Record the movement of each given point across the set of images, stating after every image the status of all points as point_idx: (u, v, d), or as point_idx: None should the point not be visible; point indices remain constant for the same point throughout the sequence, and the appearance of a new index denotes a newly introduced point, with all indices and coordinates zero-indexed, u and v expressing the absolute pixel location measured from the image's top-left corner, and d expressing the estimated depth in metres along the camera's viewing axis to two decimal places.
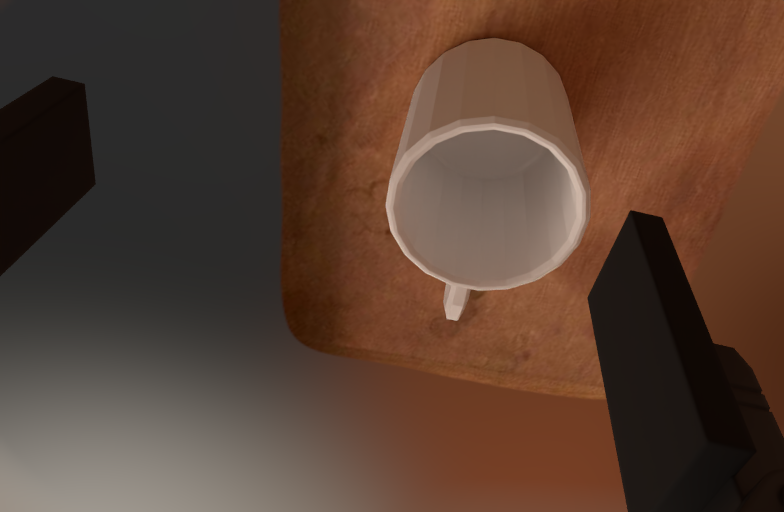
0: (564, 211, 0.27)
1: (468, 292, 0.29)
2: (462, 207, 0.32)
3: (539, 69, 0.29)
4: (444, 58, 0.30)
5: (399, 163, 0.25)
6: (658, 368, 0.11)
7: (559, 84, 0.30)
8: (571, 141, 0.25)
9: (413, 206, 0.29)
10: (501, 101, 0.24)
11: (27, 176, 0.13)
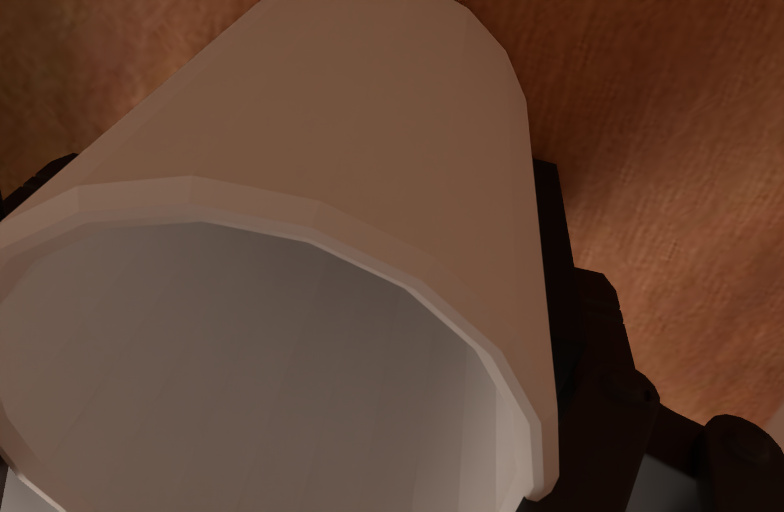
0: (497, 405, 0.10)
1: None
2: (306, 332, 0.15)
3: (446, 34, 0.12)
4: (245, 13, 0.14)
5: None
6: None
7: (499, 71, 0.13)
8: (497, 245, 0.08)
9: (138, 367, 0.12)
10: (262, 118, 0.07)
11: None
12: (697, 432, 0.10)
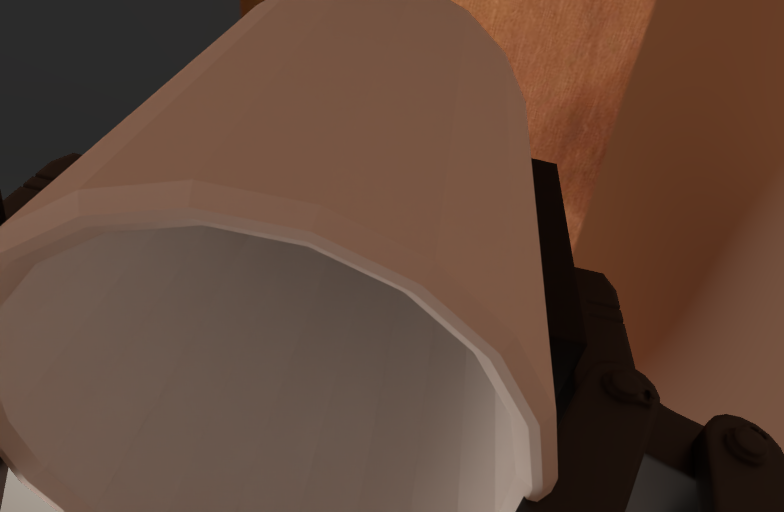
0: (496, 407, 0.10)
1: None
2: (306, 334, 0.15)
3: (445, 36, 0.12)
4: (245, 16, 0.14)
5: None
6: None
7: (499, 73, 0.13)
8: (496, 248, 0.08)
9: (138, 369, 0.12)
10: (263, 122, 0.07)
11: None
12: (697, 432, 0.10)
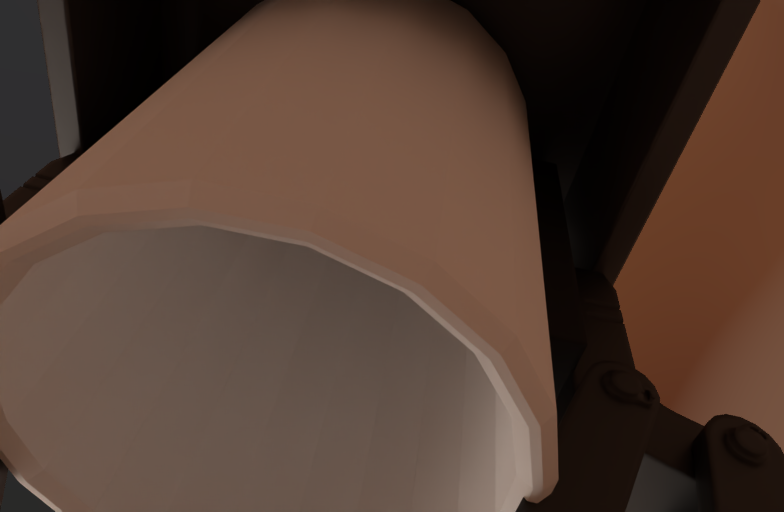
0: (497, 408, 0.10)
1: None
2: (305, 333, 0.15)
3: (446, 36, 0.12)
4: (244, 15, 0.14)
5: None
6: None
7: (499, 73, 0.13)
8: (497, 248, 0.08)
9: (138, 369, 0.12)
10: (262, 121, 0.07)
11: None
12: (697, 432, 0.10)
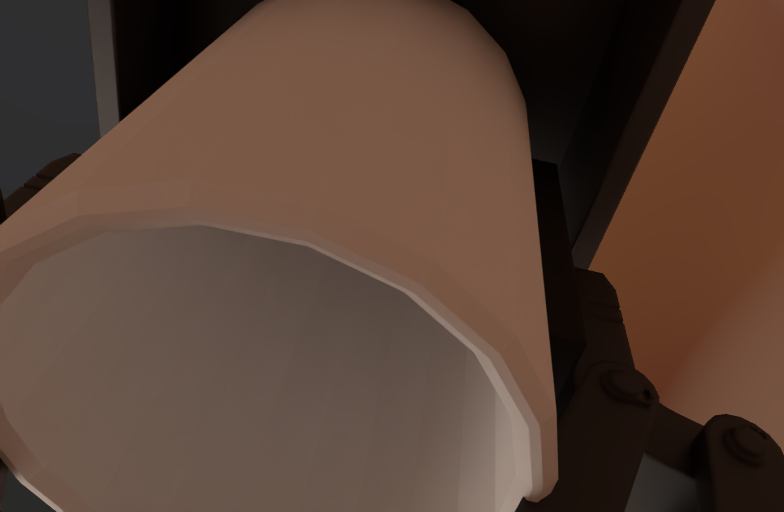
0: (496, 407, 0.10)
1: None
2: (306, 333, 0.15)
3: (445, 36, 0.12)
4: (244, 15, 0.14)
5: None
6: None
7: (499, 73, 0.13)
8: (496, 248, 0.08)
9: (138, 369, 0.12)
10: (263, 121, 0.07)
11: None
12: (696, 432, 0.10)
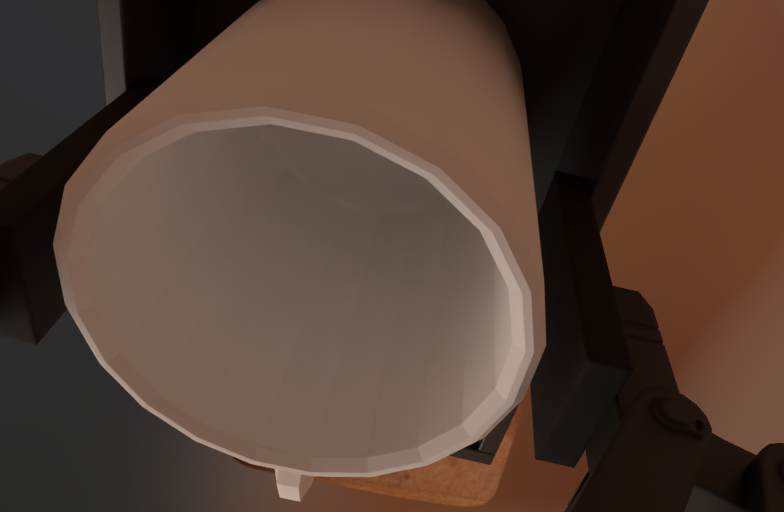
0: (496, 309, 0.12)
1: None
2: (326, 272, 0.17)
3: (452, 1, 0.14)
4: None
5: (61, 210, 0.10)
6: (562, 307, 0.12)
7: (498, 36, 0.15)
8: (497, 156, 0.10)
9: (188, 286, 0.14)
10: (312, 51, 0.09)
11: None
12: (749, 459, 0.10)
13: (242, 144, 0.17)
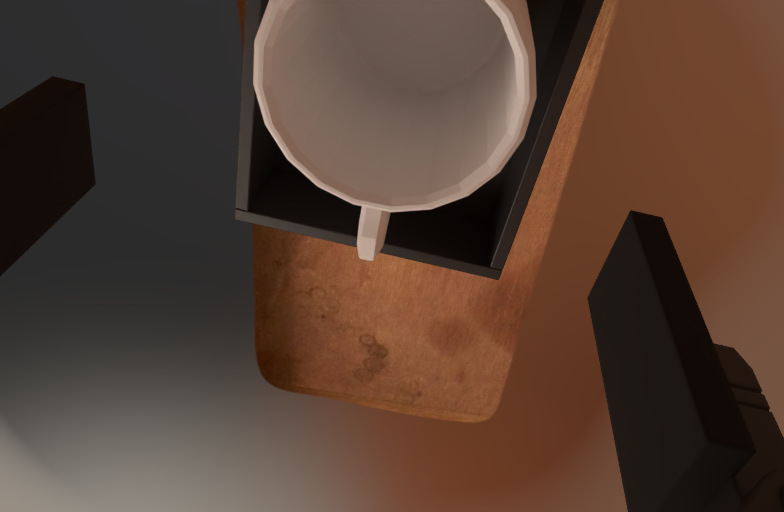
0: (506, 101, 0.20)
1: (384, 220, 0.22)
2: (386, 118, 0.25)
3: None
4: None
5: (264, 16, 0.17)
6: (658, 368, 0.11)
7: None
8: None
9: (307, 101, 0.21)
10: None
11: (27, 176, 0.13)
12: None
13: (328, 29, 0.25)
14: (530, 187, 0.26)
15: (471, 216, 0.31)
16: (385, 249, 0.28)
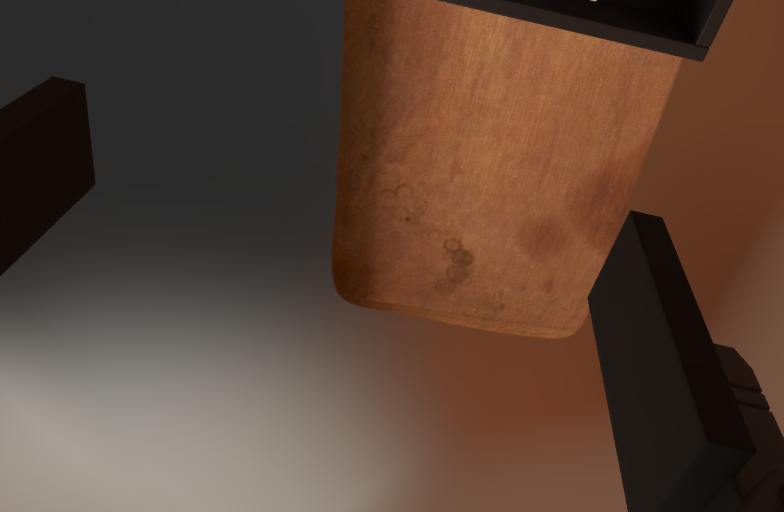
0: None
1: None
2: None
3: None
4: None
5: None
6: (658, 368, 0.11)
7: None
8: None
9: None
10: None
11: (27, 176, 0.13)
12: None
13: None
14: None
15: (652, 13, 0.29)
16: (578, 26, 0.25)
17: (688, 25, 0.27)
